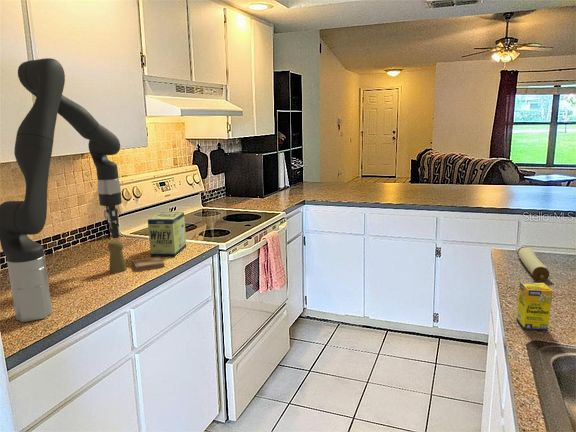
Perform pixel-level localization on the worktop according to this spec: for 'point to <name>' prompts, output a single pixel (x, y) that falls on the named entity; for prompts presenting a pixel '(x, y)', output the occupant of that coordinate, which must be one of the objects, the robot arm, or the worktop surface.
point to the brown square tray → (148, 263)
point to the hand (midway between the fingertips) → (114, 235)
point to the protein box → (167, 234)
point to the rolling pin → (533, 264)
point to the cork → (116, 257)
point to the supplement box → (534, 306)
